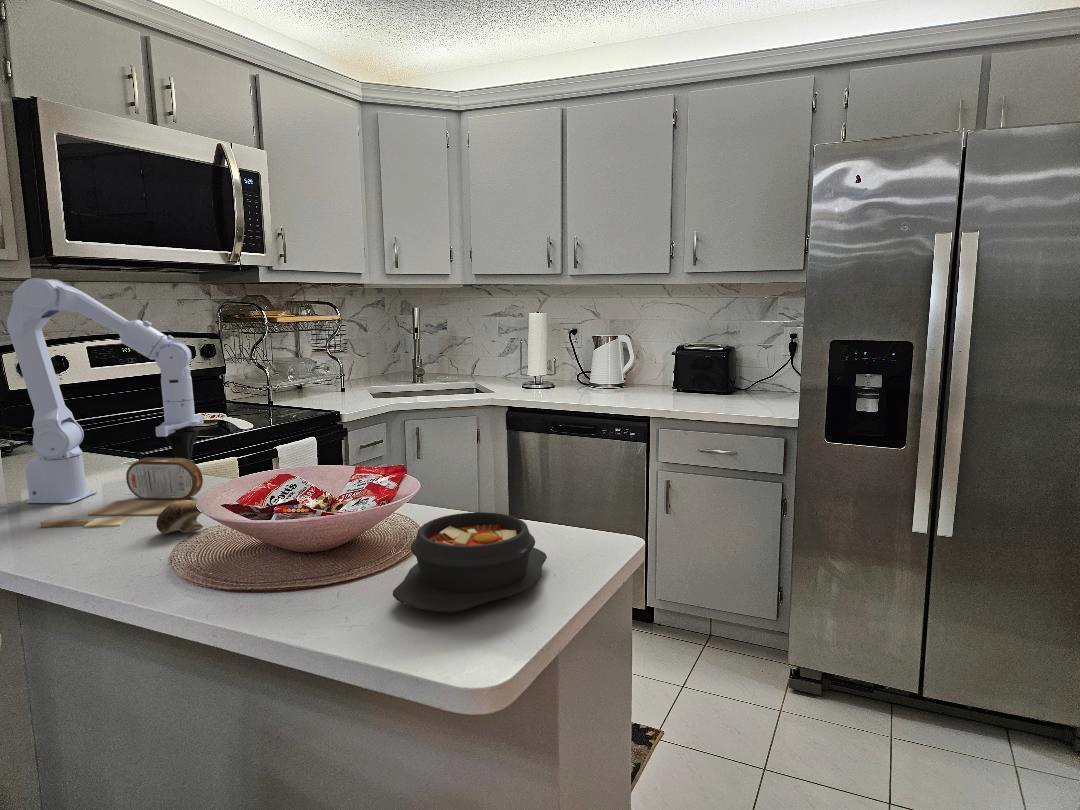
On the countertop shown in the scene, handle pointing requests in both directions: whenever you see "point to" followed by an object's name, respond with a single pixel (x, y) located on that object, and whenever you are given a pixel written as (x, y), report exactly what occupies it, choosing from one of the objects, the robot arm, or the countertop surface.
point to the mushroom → (179, 517)
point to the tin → (164, 478)
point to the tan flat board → (133, 508)
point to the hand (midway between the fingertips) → (184, 463)
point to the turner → (87, 522)
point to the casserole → (470, 562)
